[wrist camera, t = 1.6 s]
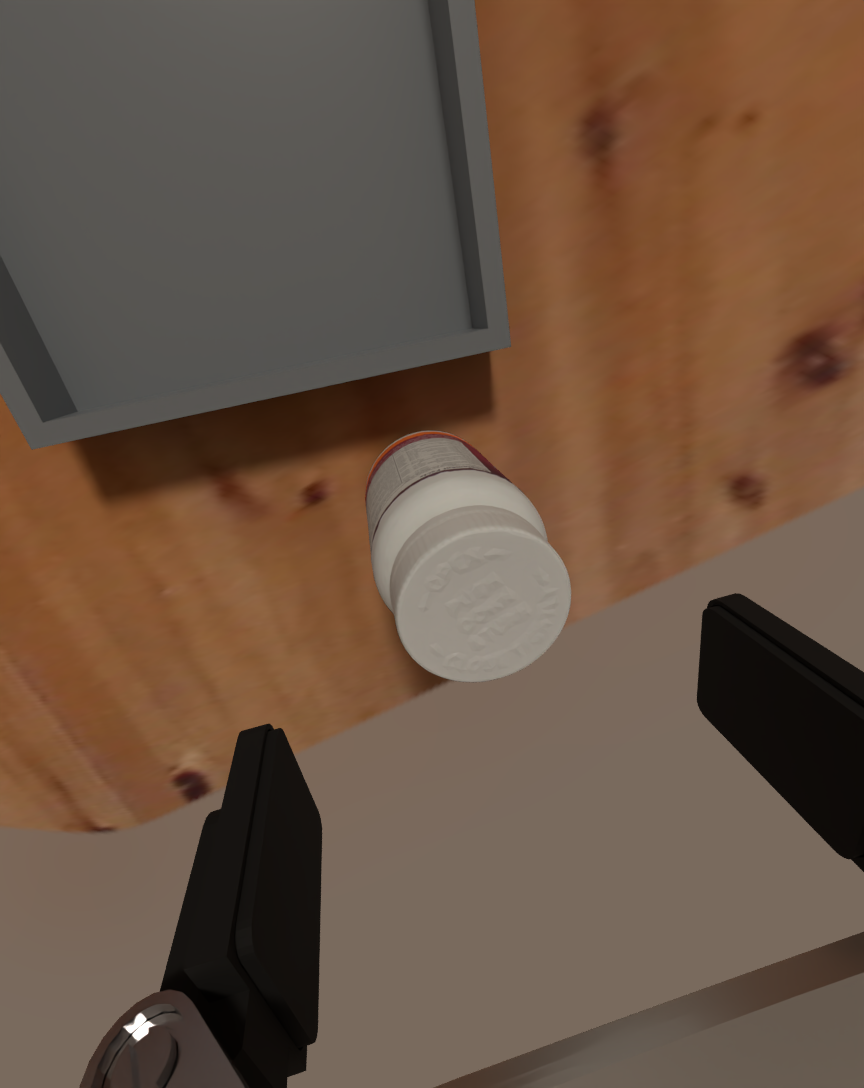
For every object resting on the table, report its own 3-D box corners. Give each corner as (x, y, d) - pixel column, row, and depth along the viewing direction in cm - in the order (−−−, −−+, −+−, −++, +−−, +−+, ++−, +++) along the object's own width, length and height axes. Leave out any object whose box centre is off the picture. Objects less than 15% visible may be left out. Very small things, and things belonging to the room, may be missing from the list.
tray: (405, -331, 14) (421, -499, 11) (489, 344, 21) (510, 346, 19) (-275, -255, 12) (-454, -423, 10) (74, 432, 20) (31, 449, 17)
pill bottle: (497, 528, 25) (600, 664, 15) (383, 561, 25) (410, 723, 15) (474, 411, 23) (580, 481, 12) (347, 447, 22) (348, 548, 12)
